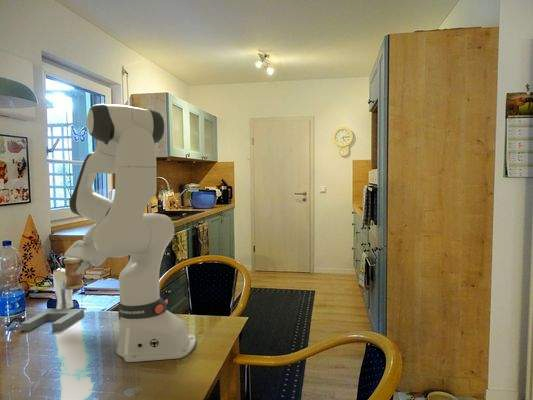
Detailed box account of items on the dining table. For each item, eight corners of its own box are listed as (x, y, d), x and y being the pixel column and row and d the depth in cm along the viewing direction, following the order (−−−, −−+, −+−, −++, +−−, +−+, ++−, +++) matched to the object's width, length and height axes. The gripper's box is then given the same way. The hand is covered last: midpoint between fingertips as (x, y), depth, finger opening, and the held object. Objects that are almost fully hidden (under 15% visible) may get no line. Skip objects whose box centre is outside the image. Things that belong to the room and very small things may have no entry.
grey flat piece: (84, 315, 143) (83, 309, 143) (60, 330, 130) (60, 323, 129) (48, 315, 145) (47, 309, 145) (21, 330, 131) (20, 323, 131)
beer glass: (62, 304, 157) (60, 267, 157) (78, 304, 156) (76, 267, 156) (51, 310, 151) (48, 272, 150) (67, 310, 150) (65, 272, 149)
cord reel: (86, 284, 140) (85, 257, 139) (77, 289, 134) (75, 260, 133) (71, 284, 140) (69, 257, 140) (61, 289, 135) (59, 260, 134)
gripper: (75, 233, 148) (50, 264, 140) (106, 237, 136) (80, 271, 128) (87, 243, 152) (63, 273, 144) (118, 247, 140) (93, 281, 132)
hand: (71, 272), depth 136 cm, fingers closed on cord reel, 5 cm apart
